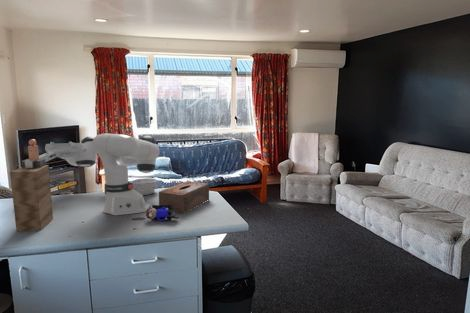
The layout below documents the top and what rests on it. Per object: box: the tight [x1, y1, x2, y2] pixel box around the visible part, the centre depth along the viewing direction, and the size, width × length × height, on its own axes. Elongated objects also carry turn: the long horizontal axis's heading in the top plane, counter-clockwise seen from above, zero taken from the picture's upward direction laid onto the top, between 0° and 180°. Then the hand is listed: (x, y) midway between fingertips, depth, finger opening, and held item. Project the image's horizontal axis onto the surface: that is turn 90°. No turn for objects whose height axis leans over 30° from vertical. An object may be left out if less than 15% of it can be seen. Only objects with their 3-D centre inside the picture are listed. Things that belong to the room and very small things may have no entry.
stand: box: [9, 158, 54, 232], centre depth 153 cm, size 10×14×29 cm
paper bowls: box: [130, 177, 158, 196], centre depth 207 cm, size 15×15×8 cm
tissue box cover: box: [158, 180, 210, 215], centre depth 184 cm, size 26×14×10 cm, turn 154°
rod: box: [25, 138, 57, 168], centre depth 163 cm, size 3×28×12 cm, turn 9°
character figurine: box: [145, 204, 179, 223], centre depth 161 cm, size 8×7×15 cm
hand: (60, 143), depth 190 cm, fingers open, 8 cm apart
